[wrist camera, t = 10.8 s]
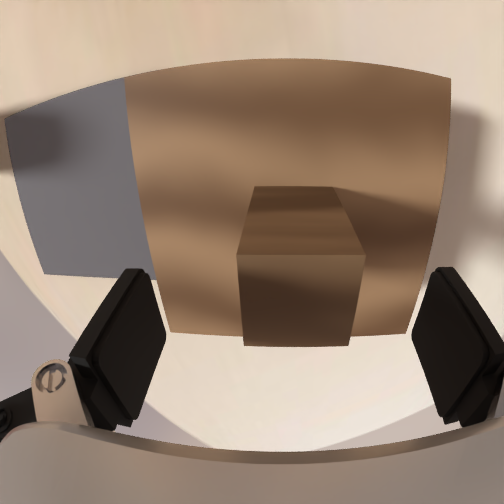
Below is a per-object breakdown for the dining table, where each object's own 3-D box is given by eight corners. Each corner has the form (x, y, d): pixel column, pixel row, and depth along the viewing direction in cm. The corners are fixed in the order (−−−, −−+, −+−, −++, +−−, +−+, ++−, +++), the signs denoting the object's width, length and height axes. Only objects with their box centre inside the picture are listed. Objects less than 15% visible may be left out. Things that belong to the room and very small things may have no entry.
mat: (6, 118, 22) (4, 118, 21) (162, 69, 20) (160, 69, 20) (46, 272, 31) (44, 274, 31) (189, 278, 29) (187, 280, 29)
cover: (130, 77, 14) (33, 82, 7) (443, 78, 12) (540, 86, 5) (173, 324, 22) (139, 411, 15) (402, 326, 20) (432, 413, 14)
